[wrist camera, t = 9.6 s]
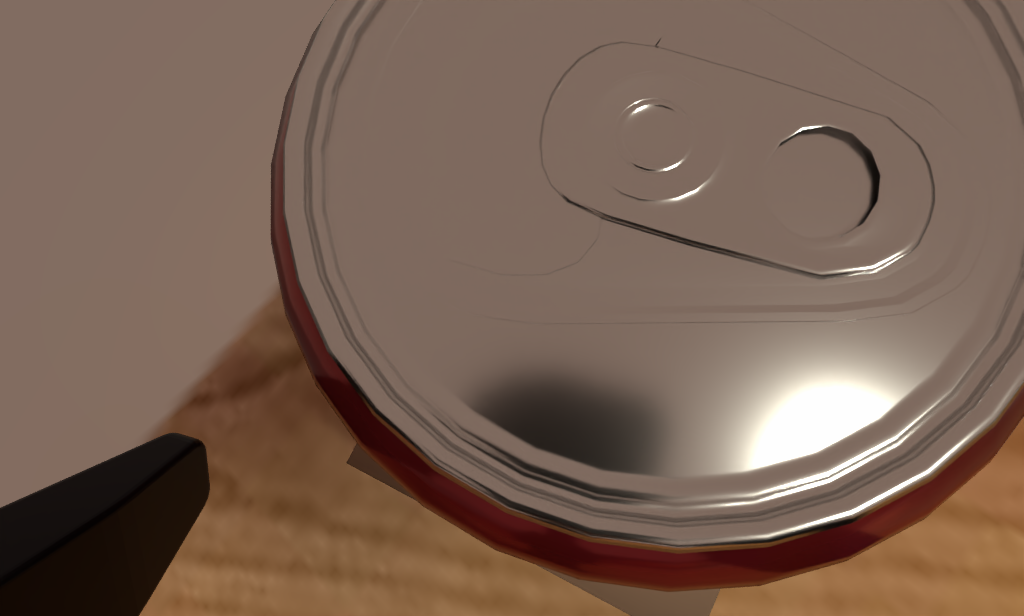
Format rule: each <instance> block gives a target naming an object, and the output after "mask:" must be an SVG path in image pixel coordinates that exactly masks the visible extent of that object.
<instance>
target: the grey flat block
mask: <svg viewBox="0 0 1024 616" xmlns="http://www.w3.org/2000/svg"><path fill="white" fill-rule="evenodd" d="M347 464H349V465H351V466H353V467H355V468H357V469H359V470H360V471H362V472H364V473H366V474H368V475H370V476H372V477H373V478H375V479H377V480H379V481H381V482H383V483H385V484H387V485H388V486H390V487H392V488H394V489H396V490H398V491H400V492H401V493H403V494H405V495H407V496H409V497H411V498H413V497H412V496H411V495H410V494H409V493H408V492H407V491H406V490H405V489H404V488H403V487H401V486H400V485H399V484H398V483H397V482H396V481H395V480H394V479H393V478H392V477H391V476H390V475H389V474H387V473H386V472H385V471H384V470H383V469H382V468H381V467H380V466H379V465H378V464H377V463H376V462H375V461H373V460H372V459H371V458H370V457H369V456H368V455H367V454H366V453H365V452H364V451H363V450H362V449H361V448H360V446H359V445H358V444H356V446H355V448H354V450H353V452H352V454H351V456H350V457H349V459H348V461H347ZM413 499H414V498H413ZM416 501H417V500H416ZM538 566H539V565H538ZM540 567H541V568H543V569H545V570H547V571H549V572H551V573H553V574H554V575H556V576H558V577H560V578H562V579H564V580H566V581H567V582H569V583H571V584H573V585H575V586H577V587H579V588H581V589H582V590H584V591H586V592H588V593H590V594H592V595H594V596H595V597H597V598H599V599H601V600H603V601H605V602H607V603H609V604H610V605H612V606H614V607H616V608H618V609H620V610H622V611H623V612H625V613H627V614H629V615H631V616H709V615H710V612H711V610H712V608H713V605H714V603H715V600H716V598H717V596H718V593H719V591H720V589H707V590H692V591H678V592H664V591H657V590H650V589H642V588H635V587H628V586H621V585H614V584H606V583H599V582H592V581H585V580H578V579H576V578H573V577H570V576H567V575H564V574H562V573H559V572H556V571H553V570H550V569H547V568H545V567H542V566H540Z"/></svg>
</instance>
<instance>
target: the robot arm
mask: <svg viewBox="0 0 1024 616" xmlns="http://www.w3.org/2000/svg"><path fill="white" fill-rule="evenodd" d="M209 490H210V483H209V473H208V464H207V454H206V448H205V445H204V444H203V442H202V441H200V440H199V439H195V438H192V437H189V436H185V435H182V434H179V433H169V434H165V435H163V436H160V437H158V438H156V439H154V440H152V441H149V442H147V443H145V444H143V445H140V446H138V447H136V448H134V449H131V450H129V451H127V452H125V453H122V454H120V455H118V456H116V457H114V458H111V459H109V460H107V461H104V462H102V463H100V464H98V465H95V466H93V467H91V468H89V469H87V470H84V471H82V472H80V473H78V474H75V475H73V476H71V477H68V478H66V479H64V480H62V481H60V482H57V483H55V484H53V485H51V486H48V487H46V488H44V489H42V490H39V491H37V492H35V493H33V494H30V495H28V496H26V497H24V498H21V499H19V500H17V501H15V502H12V503H10V504H8V505H6V506H3V507H1V508H0V616H139V615H140V613H141V612H142V610H143V608H144V607H145V605H146V604H147V602H148V600H149V599H150V597H151V596H152V594H153V592H154V590H155V589H156V587H157V585H158V584H159V582H160V580H161V579H162V577H163V575H164V573H165V572H166V570H167V568H168V567H169V565H170V563H171V562H172V560H173V558H174V557H175V555H176V553H177V551H178V550H179V548H180V546H181V545H182V543H183V541H184V540H185V538H186V536H187V535H188V533H189V531H190V529H191V528H192V526H193V524H194V523H195V521H196V519H197V518H198V516H199V514H200V513H201V511H202V509H203V507H204V506H205V504H206V501H207V499H208V495H209Z"/></svg>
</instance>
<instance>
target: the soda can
mask: <svg viewBox="0 0 1024 616" xmlns="http://www.w3.org/2000/svg"><path fill="white" fill-rule="evenodd" d="M271 244H272V249H273V254H274V259H275V264H276V269H277V274H278V279H279V284H280V289H281V294H282V299H283V304H284V309H285V314H286V317H287V319H288V321H289V324H290V326H291V328H292V331H293V333H294V335H295V338H296V340H297V342H298V345H299V347H300V349H301V352H302V354H303V356H304V358H305V361H306V363H307V365H308V368H309V370H310V372H311V375H312V377H313V379H314V382H315V384H316V386H317V387H318V389H319V390H320V391H321V393H322V394H323V396H324V397H325V398H326V400H327V401H328V403H329V404H330V405H331V407H332V408H333V410H334V411H335V413H336V414H337V415H338V417H339V418H340V420H341V421H342V422H343V424H344V425H345V427H346V428H347V430H348V431H349V432H350V434H351V435H352V437H353V438H354V439H355V441H356V442H357V444H358V445H359V446H360V448H361V449H362V450H363V451H364V452H365V453H366V454H367V455H368V456H369V457H370V458H371V459H372V460H373V461H375V462H376V463H377V464H378V465H379V466H380V467H381V468H382V469H383V470H384V471H385V472H386V473H387V474H389V475H390V476H391V477H392V478H393V479H394V480H395V481H396V482H397V483H398V484H399V485H400V486H401V487H403V488H404V489H405V490H406V491H407V492H408V493H409V494H410V495H411V496H412V497H413V498H414V499H415V500H417V501H418V502H419V503H420V504H421V505H422V506H423V507H425V508H427V509H428V510H430V511H432V512H433V513H435V514H437V515H438V516H440V517H442V518H443V519H445V520H447V521H448V522H450V523H452V524H453V525H455V526H457V527H458V528H460V529H462V530H463V531H465V532H466V533H468V534H470V535H471V536H473V537H475V538H476V539H478V540H480V541H481V542H483V543H485V544H486V545H488V546H490V547H491V548H493V549H495V550H497V551H499V552H502V553H505V554H508V555H511V556H514V557H516V558H519V559H522V560H525V561H528V562H530V563H533V564H536V565H539V566H542V567H545V568H547V569H550V570H553V571H556V572H559V573H562V574H564V575H567V576H570V577H573V578H576V579H578V580H585V581H592V582H599V583H606V584H614V585H621V586H628V587H635V588H642V589H650V590H657V591H664V592H678V591H692V590H707V589H722V588H736V587H751V586H761V585H764V584H768V583H771V582H775V581H778V580H782V579H785V578H789V577H792V576H796V575H799V574H803V573H806V572H810V571H814V570H817V569H821V568H824V567H828V566H831V565H835V564H838V563H842V562H845V561H848V560H849V559H851V558H853V557H855V556H857V555H859V554H861V553H862V552H864V551H866V550H868V549H870V548H872V547H874V546H875V545H877V544H879V543H881V542H883V541H885V540H887V539H888V538H890V537H892V536H894V535H896V534H898V533H900V532H902V531H903V530H905V529H907V528H909V527H911V526H913V525H915V524H916V523H918V522H920V521H922V520H924V519H925V518H926V517H928V516H929V515H930V514H931V513H932V512H933V511H935V510H936V509H937V508H938V507H939V506H940V505H941V504H943V503H944V502H945V501H946V500H947V499H948V498H949V497H951V496H952V495H953V494H954V493H955V492H956V491H958V490H959V489H960V488H961V487H962V486H963V485H964V484H966V483H967V482H968V481H969V480H970V479H971V478H973V477H974V476H975V475H976V474H977V473H978V472H979V471H981V470H982V469H983V468H984V467H985V466H986V465H987V464H989V463H990V462H991V460H992V459H993V458H994V456H995V455H996V454H997V452H998V451H999V450H1000V448H1001V447H1002V446H1003V444H1004V443H1005V441H1006V440H1007V439H1008V437H1009V436H1010V435H1011V433H1012V432H1013V430H1014V429H1015V428H1016V426H1017V425H1018V423H1019V422H1020V421H1021V419H1022V418H1023V417H1024V0H335V2H334V3H333V4H332V6H331V7H330V9H329V10H328V12H327V13H326V15H325V16H324V18H323V19H322V21H321V22H320V24H319V26H318V27H317V28H316V30H315V31H314V33H313V34H312V37H311V39H310V42H309V44H308V46H307V48H306V51H305V53H304V55H303V58H302V60H301V62H300V64H299V67H298V69H297V71H296V74H295V76H294V79H293V81H292V83H291V86H290V88H289V90H288V92H287V95H286V98H285V102H284V107H283V111H282V117H281V121H280V126H279V130H278V135H277V140H276V144H275V149H274V154H273V159H272V163H271Z"/></svg>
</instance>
